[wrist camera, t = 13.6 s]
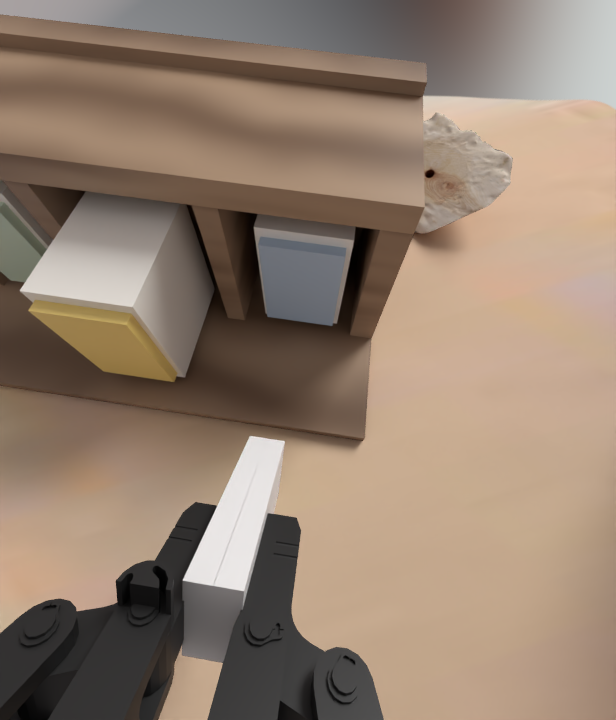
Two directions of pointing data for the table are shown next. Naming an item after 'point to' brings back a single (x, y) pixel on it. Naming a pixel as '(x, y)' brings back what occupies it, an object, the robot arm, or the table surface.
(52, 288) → the mustard key
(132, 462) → the table surface
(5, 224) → the sage key
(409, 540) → the table surface
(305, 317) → the white and blue block
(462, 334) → the table surface
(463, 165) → the rock
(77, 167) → the brown boxy piece
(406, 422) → the table surface
